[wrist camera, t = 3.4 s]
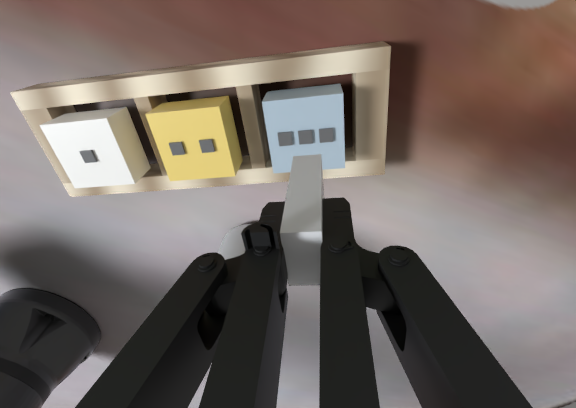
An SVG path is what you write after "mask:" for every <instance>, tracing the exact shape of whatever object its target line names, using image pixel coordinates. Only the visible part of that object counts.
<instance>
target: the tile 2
mask: <svg viewBox="0 0 576 408" xmlns="http://www.w3.org/2000/svg"><path fill="white" fill-rule="evenodd" d="M145 115H146V118H147V120H148V123H149V126H150V129H151V131H152V134H153V137H154V139H155V142H156V145H157V148H158V150H159V153H160V156H161V158H162V161H163V164H164V167H165V169H166V172H167V175H168V177H169V180H170V181H180V180H194V179H207V178H220V177H233V176H236V174H237V172H238V170H239V168H240V165H241V163H242V161H243V159H242V155H241V150H240V145H239V141H238V136H237V131H236V127H235V122H234V118H233V113H232V108H231V104H230V99H229V96H221V97H212V98H203V99H194V100H185V101H175V102H166V103H161V104H160V105H158V106H157V107H155V108H154V109H152V110H151V111H149V112H148V113H146V114H145Z"/></svg>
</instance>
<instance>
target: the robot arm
mask: <svg viewBox="0 0 576 408" xmlns="http://www.w3.org/2000/svg"><path fill="white" fill-rule="evenodd" d="M241 235H242V239H243V243H244V247H245V253H244V254H242V255H240V256H237V257H234V258H230V259H226V260H225V259H224V257H223V256H222V255H221V254H218V253H207V254H203V255H201V256H199V257H197V258H196V259H195V260H194V261H193V262H192V263H191V264H190V265H189V267H188V268H187V269H186V270H185V272H184V273H183V274H182V275H181V277H180V278H179V279H178V280H177V282H176V283H175V284H174V285H173V287H172V288H171V289H170V290H169V292H168V293H167V294H166V295H165V296H164V298H163V299H162V300H161V301H160V303H159V304H158V305H157V306H156V308H155V309H154V310H153V311H152V313H151V314H150V315H149V316H148V318H147V319H146V320H145V321H144V323H143V324H142V325H141V326H140V328H139V329H138V330H137V331H136V333H135V334H134V335H133V336H132V337H131V339H130V340H129V341H128V342H127V344H126V345H125V346H124V347H123V349H122V350H121V351H120V352H119V354H118V355H117V356H116V357H115V359H114V360H113V361H112V362H111V364H110V365H109V366H108V367H107V369H106V370H105V371H104V372H103V374H102V375H101V376H100V377H99V379H98V380H97V381H96V382H95V383H94V385H93V386H92V387H91V388H90V390H89V391H88V392H87V393H86V395H85V396H84V397H83V398H82V400H81V401H80V402H79V403H78V405H77V406H76V407H75V408H188V406H189V404H190V402H191V400H192V398H193V397H194V395H195V393H196V391H197V389H198V387H199V385H200V384H201V382H202V380H203V378H204V376H205V374H206V372H207V371H208V369H209V367H210V365H211V363H212V365H211V368H210V372H209V375H208V378H207V382H206V385H205V389H204V392H203V395H202V399H201V402H200V405H199V408H276V404H277V394H278V385H279V376H280V366H281V357H282V348H283V338H284V329H285V319H286V310H287V301H288V293H287V278H288V284H289V286H292V285H320V406H319V408H380V406H379V399H378V392H377V385H376V378H375V371H374V363H373V356H372V349H371V342H370V335H369V328H368V321H367V314H366V307H368V308H372V309H376V310H377V314H378V316H379V318H380V320H381V322H382V324H383V326H384V328H385V330H386V333H387V335H388V337H389V339H390V341H391V343H392V345H393V347H394V349H395V352H396V354H397V356H398V358H399V360H400V362H401V364H402V366H403V368H404V370H405V373H406V375H407V377H408V379H409V381H410V383H411V385H412V387H413V389H414V391H415V394H416V396H417V398H418V400H419V402H420V404H421V406H422V408H532V406H531V405H530V404H529V402H528V401H527V400H526V398H525V397H524V396H523V394H522V393H521V392H520V390H519V389H518V388H517V386H516V385H515V384H514V382H513V381H512V380H511V378H510V377H509V376H508V374H507V373H506V372H505V370H504V369H503V368H502V367H501V365H500V364H499V363H498V361H497V360H496V359H495V357H494V356H493V355H492V353H491V352H490V351H489V349H488V348H487V347H486V345H485V344H484V343H483V341H482V340H481V339H480V337H479V336H478V335H477V333H476V332H475V331H474V329H473V328H472V327H471V325H470V324H469V323H468V321H467V320H466V319H465V317H464V316H463V315H462V313H461V312H460V311H459V309H458V308H457V307H456V305H455V304H454V303H453V301H452V300H451V299H450V297H449V296H448V295H447V293H446V292H445V291H444V289H443V288H442V287H441V286H440V284H439V283H438V282H437V280H436V279H435V278H434V276H433V275H432V274H431V272H430V271H429V270H428V268H427V267H426V266H425V264H424V263H423V262H422V260H421V259H420V258H419V256H418V255H417V254H416V253H415V252H414V251H413V250H411V249H409V248H407V247H403V246H389V247H386V248H384V249H383V250H381V251H380V253H375V252H371V251H367V250H365V249H363V248H361V247H360V246H359V245H358V244H357V243H356V242H355V239H354V232H353V225H352V218H351V210H350V203H349V202H348V201H347V200H346V199H345V198H327V199H324V186H323V172H322V157H321V154H317V155H303V156H293V160H292V166H291V172H290V177H289V183H288V189H287V195H286V200H285V202H269V203H268V204H267V205H266V206H265V207H264V208H263V209H262V213H261V217H260V220H259V222H256V223H253V224H250V225H248V226H247V227H246V228H244V229H243V231H242V232H241ZM99 341H100V330H99V328H98V326H97V324H96V323H95V321H94V320H93V319H92V318H91V317H90V316H89V315H88V314H87V313H86V312H85V311H84V310H82V309H81V308H80V307H78V306H77V305H75V304H73V303H72V302H70V301H68V300H66V299H64V298H62V297H59V296H57V295H54V294H51V293H48V292H44V291H40V290H34V289H15V290H10V291H8V292H6V293H4V294H2V295H1V296H0V408H41V407H42V405H43V404H44V402H45V401H46V399H47V398H48V396H49V395H50V394H51V392H52V391H53V389H54V388H55V387H56V386H58V385H59V384H60V383H61V382H62V381H63V380H64V379H65V378H66V377H67V376H68V375H70V374H71V373H72V372H73V371H74V370H75V369H76V368H77V366H78V365H79V364H80V363H82V362H84V361H85V360H86V359H87V358H88V357H89V356H90V355H91V354H92V352H93V351H94V349H95V348H96V346H97V344H98V343H99Z"/></svg>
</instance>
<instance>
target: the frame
mask: <svg viewBox="0 0 576 408" xmlns="http://www.w3.org/2000/svg"><path fill="white" fill-rule="evenodd" d="M390 54H391V46H390V45H389V44H387V43H385V42H383V41H381V42H373V43H365V44H357V45H349V46H341V47H333V48H325V49H317V50H308V51H300V52H292V53H284V54H276V55H268V56H260V57H252V58H244V59H236V60H228V61H220V62H212V63H204V64H196V65H188V66H180V67H172V68H164V69H156V70H147V71H139V72H131V73H123V74H115V75H107V76H99V77H91V78H83V79H75V80H67V81H59V82H51V83H43V84H36V85H33V86H30V87H26V88H23V89H20V90H16V91H13V92H10V93H11V95H12V97H13V99H14V100H15V102H16V104H17V105H18V107H19V109H20V111H21V112H22V114H23V116H24V118H25V119H26V121H27V123H28V124H29V126H30V128H31V130H32V131H33V133H34V135H35V137H36V138H37V140H38V142H39V143H40V145H41V147H42V149H43V150H44V152H45V154H46V156H47V157H48V159H49V161H50V162H51V164H52V166H53V168H54V169H55V171H56V173H57V175H58V176H59V178H60V180H61V181H62V183H63V185H64V187H65V188H66V190H67V192H68V194H69V195H70V197H76V196H90V195H104V194H118V193H132V192H146V191H160V190H174V189H188V188H202V187H216V186H230V185H244V184H258V183H272V182H286V181H289V177H290V172H286V173H273V167H272V161H271V155H270V152H269V146H268V140H267V134H266V128H265V122H264V116H263V110H262V103H261V97H260V91H259V85H258V84H262V83H271V82H280V81H289V80H298V79H307V78H315V77H324V76H333V75H342V74H351V73H352V144H353V147H345V168H339V169H326V170H322V172H323V179H327V178H341V177H355V176H369V175H383V174H385V154H386V134H387V114H388V94H389V74H390ZM227 87H236V91H237V96H238V101H239V106H240V111H241V116H242V121H243V125H244V130H245V135H246V140H247V145H248V150H249V155H250V156H242V159H243V161H242V163H241V165H240V168H239V170H238V172H237V174H236V176H233V177H220V178H207V179H194V180H180V181H170V180H169V177H168V175H167V172H166V169H165V167H164V164H163V161H162V158H161V156H160V153H159V150H158V148H157V145H156V142H155V139H154V137H153V134H152V131H151V129H150V126H149V123H148V120H147V118H146V115H145V114H146V113H148V112H149V111H151V110H152V109H154V108H155V107H157V106H158V105H160V104H161V103H166V102H167V99H166V96H165V94H174V93H183V92H191V91H200V90H209V89H218V88H227ZM129 98H134V101H135V103H136V106H137V109H138V111H139V114H140V117H141V119H142V122H143V125H144V127H145V130H146V133H147V135H148V138H149V141H150V143H151V146H152V148H153V151H154V154H155V156H156V159H157V162H158V163H154V164H149V165H150V167H151V168H150V169H149V170H148V171H147V172H146V173H145V174H144V175H143V176H142V177H141V178H140V179H139V180H138V181H137V182H136V184H127V185H114V186H101V187H87V188H74V186H73V184H72V183H71V181H70V179H69V177H68V175H67V174H66V172H65V170H64V168H63V167H62V165H61V163H60V161H59V159H58V158H57V156H56V154H55V152H54V151H53V149H52V147H51V145H50V143H49V142H48V140H47V138H46V136H45V134H44V133H43V131H42V129H41V127H40V126H39V125H41V124H43V123H46V122H48V121H50V120H52V119H55V118H57V117H59V116H61V115H63V114H66V113H75V112H76V110H75V108H74V106H73V105H76V104H85V103H94V102H103V101H112V100H121V99H129Z"/></svg>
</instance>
